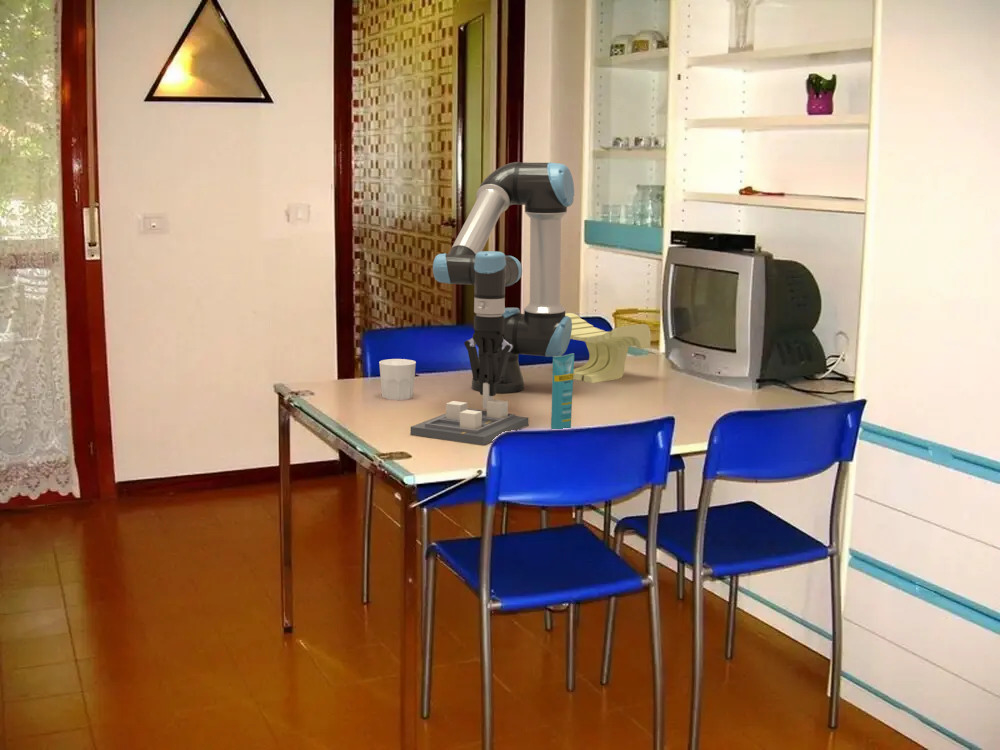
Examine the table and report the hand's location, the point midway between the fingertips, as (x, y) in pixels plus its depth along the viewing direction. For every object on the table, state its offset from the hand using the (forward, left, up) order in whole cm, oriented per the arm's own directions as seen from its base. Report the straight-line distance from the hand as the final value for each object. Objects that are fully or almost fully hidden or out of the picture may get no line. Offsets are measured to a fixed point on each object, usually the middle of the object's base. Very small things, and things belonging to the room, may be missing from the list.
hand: (487, 407), depth 294 cm
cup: (-37, +17, -5) cm, 41 cm away
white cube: (+3, -14, -2) cm, 15 cm away
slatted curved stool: (-2, +75, -5) cm, 75 cm away
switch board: (-1, -7, -4) cm, 8 cm away
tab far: (+3, 0, -2) cm, 3 cm away
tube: (+19, +3, -5) cm, 20 cm away
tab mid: (-5, -7, -2) cm, 9 cm away
